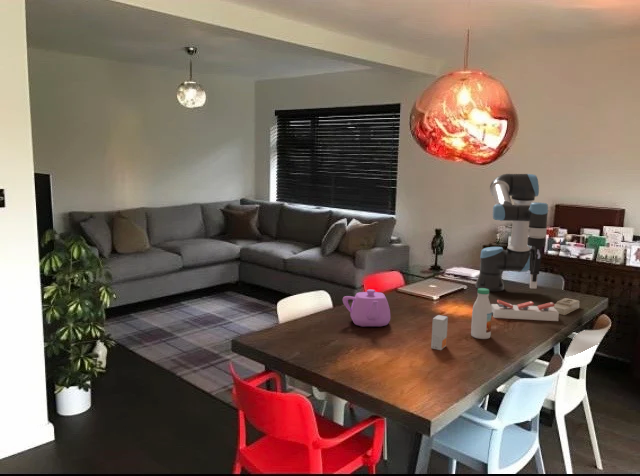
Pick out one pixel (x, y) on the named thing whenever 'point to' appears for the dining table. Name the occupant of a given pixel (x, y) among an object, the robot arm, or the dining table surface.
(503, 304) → the rocker
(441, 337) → the skincare box
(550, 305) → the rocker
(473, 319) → the milk bottle
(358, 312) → the teapot
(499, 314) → the power strip
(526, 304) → the rocker
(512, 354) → the dining table surface
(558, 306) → the electrical outlet
